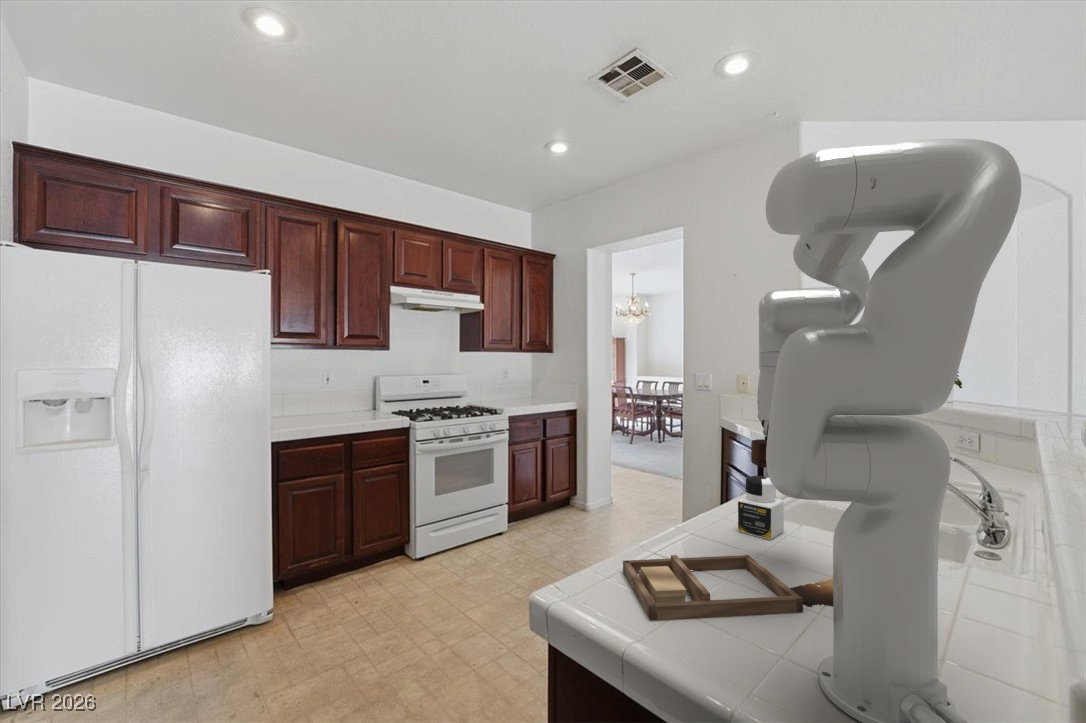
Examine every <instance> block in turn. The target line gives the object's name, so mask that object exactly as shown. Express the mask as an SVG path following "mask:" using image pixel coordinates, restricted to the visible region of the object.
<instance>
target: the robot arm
mask: <svg viewBox="0 0 1086 723" xmlns="http://www.w3.org/2000/svg"><path fill="white" fill-rule="evenodd" d="M1021 196H1022V177H1021V172H1020V169H1019V165H1018V163H1017V161H1016V159H1015V158H1014V156H1013V155H1012V154H1011V152H1010V151H1008V149H1006V148H1005V147H1003V146H1001V145H1000V144H998V143H996V142H991V141H988V140H982V139H975V138H974V139H973V138H935V139H922V140H921V139H920V140H909V141H907V140H906V141H898V142H888V143H879V144H878V143H877V144H865V145H854V146H853V145H852V146H851V145H850V146H841V147H833V148H832V147H830V148H824V149H819V150H814V151H813V152H810V153H808V154H804V155H803V156H801V157H799V158H797V159H794V160H792V161H790V162H788V163H787V164H785V165H784V166H783V167H781V169H780V170H779V171H778V172H777V173H776V175H775V177H774V178H773V180H772V182H771V184H770V186H769V188H768V192H767V197H766V201H765V216H766V221H767V224H768V225H769V227H770V229H772V230H773V232H775V233H777V234H780V235H787V236H788V235H789V236H791V235H793V236H798V238H797V241H796V242H795V245H794V247H793V252H792V253H793V254H792V255H793V260H794V264H795V265H796V266H797V267H798V269H799V270H800V272H801V273H803V274H804V275H806V276H807V277H809V278H811V279H813V280H815V281H817V282H821V283H823V284H826V285H828V286H829V285H830V287H827V286H826V287H799V288H778V289H773V290H770V291H768V292H767V293H765V295H764V296H763V297H762V298H761V299H760V301H759V304H758V370H759V375H758V386H757V400H756V401H757V403H756V404H757V419H758V421H759V422H760V424H761V426H762V429H763V431H762V434H763V436H764V439H765V440H767V447H766V464H767V468H766V471H767V475H768V476H767V477H769V478H770V481H771V483H772V484H773V486H774V487H775V488H776V491H777V492H778V493H780V494H782V495H783V496H786V497H788V498H792V499H797V500H804V501H805V500H808V501H828V502H831V501H832V502H849V503H850V502H851V503H850V504H849V506H848V507H847V508H846V509H845V511H844V512H843V514H841V516H840V518H839V520H838V522H837V523H836V526H835V529H834V533H833V539H832V540H833V542H832V544H833V546H832V548H833V550H832V560H833V561H832V572H833V573H832V576H833V607H832V608H833V610H832V613H833V614H832V616H833V618H832V620H833V624H832V625H833V626H832V627H833V635H832V636H833V637H832V638H833V639H832V640H833V642H832V643H833V644H832V645H833V650H832V651H833V655H830V656H828V657H826V658H824V659H823V660H822V661H821V662H820V663H819V665H818V667H817V668H818V670H817V672H818V673H817V674H818V675H817V676H818V678H817V679H818V682H819V685H820V688H821V689H822V691H823V693H824V694H825V695H826V696H827V698H828V699H829V700H830V701H831V702H832V703H833V704H834V705H835V706H836V707H838V708H839V709H840V710H841V711H842V712H844V713H845V714H847V715H848V716H849V717H852V718H853V719H855V720H857V721H859V723H969V722H968V721H967V720H965V719H964V718H963V717H962V716H960V715H959V714H958V712H957V708H956V706H955V704H954V703H953V701H952V699H950V697H949V696H948V691H947V689H948V687H947V685H946V684H945V683H944V682H941V681H940V680H939V679H938V678H939V677H938V676H939V674H938V672H939V669H938V668H939V667H938V664H939V661H938V660H939V658H938V656H939V655H938V654H939V652H938V650H939V648H938V645H939V644H938V643H939V642H938V640H939V639H938V638H939V636H938V635H939V633H938V632H939V631H938V630H939V629H938V627H939V625H938V620H939V619H938V618H939V617H938V616H939V615H938V614H939V613H938V609H939V608H938V606H939V605H938V603H939V601H938V591H939V589H938V585H939V584H938V578H939V577H938V573H939V534H940V522H941V517H942V516H941V515H942V510H943V509H942V508H943V506H944V500H945V496H946V493H947V489H948V485H949V481H950V474H951V455H950V451H949V448H948V446H947V443H946V442H945V440H944V439H943V437H942V436H941V435H940V434H939V433H938V432H937V430H935V429H933V428H932V427H930V426H929V425H927V424H925V423H923V422H920V421H917V420H914V419H910V418H905V417H901V416H916V415H917V416H918V415H925V414H929V413H933V412H935V411H937V410H939V409H940V408H941V407H943V405H945V403H946V402H947V401H948V399H949V397H950V395H951V393H952V390H953V388H954V387H955V386H954V385H955V383H956V379H957V377H958V376H957V375H958V372H959V368H960V365H961V362H962V357H963V354H964V350H965V347H966V343H967V339H968V336H969V333H970V329H971V325H972V322H973V318H974V315H975V310H976V306H977V301H978V298H979V294H980V291H981V289H982V286H983V282H984V281H985V279H986V277H987V274H988V273H989V271H990V268H991V266H992V265H993V263H994V261H995V259H996V258H997V255H998V254H999V252H1000V250H1001V249H1002V248H1003V245H1004V243H1005V241H1006V240H1007V238H1008V235H1009V234H1010V232H1011V229H1012V228H1013V224H1014V222H1015V220H1016V219H1015V218H1016V217H1017V214H1018V211H1019V210H1018V209H1019V207H1020V204H1021V203H1020V202H1021ZM900 231H902V232H903V231H904V232H905V231H909V232H911V231H912V232H913V233H912V235H910V236H909V237H908V238H907V239H905V240H904V241H903V242H902V243H901V244H900V245H898V246H897V247H896V248H895V249H894V250H893V251H892V252H890V254H889V255H888V256H887V257H886V258H885V259H884V260H883V261H882V262H881V264H880V265H879V266H878V267H877V268H876V270H875V271H874V273H873V275H872V276H871V278H870V274H869V270H868V268H867V266H866V264H865V262H864V260H863V259H862V258H863V257H864V255H865V254H866V252H867V251H868V249H869V248H870V246H871V245H872V243H874V240H875V239H876V238H877V236H878V234H879V233H884V232H886V233H887V232H900ZM862 311H863V313H862V316H861V317H860V319H859V321H857V322H856V323H854V321H855V320H856V319H857V317H858V316H859V315H860V314H861V312H862ZM853 323H854V324H853ZM899 416H900V417H899Z"/></svg>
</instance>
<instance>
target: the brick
mask: <svg viewBox="0 0 1086 723" xmlns="http://www.w3.org/2000/svg"><path fill="white" fill-rule="evenodd" d="M750 446H751V448H750V449H751V450H750V451H751V463H752V464H754V465H756V466H757V467H759V468H766V469H767V464H766V447H767V440H765V438H763V439H758V438H757V439H752V441H751V443H750Z"/></svg>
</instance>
